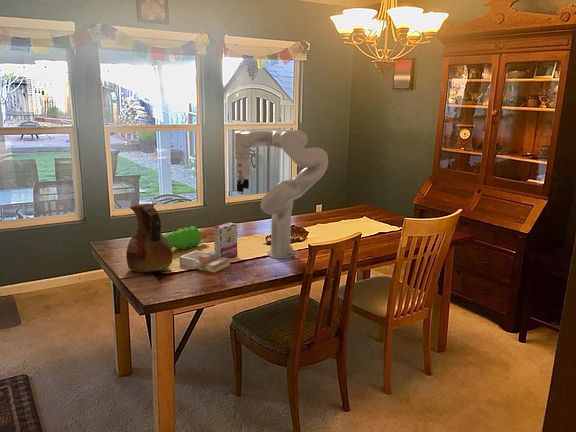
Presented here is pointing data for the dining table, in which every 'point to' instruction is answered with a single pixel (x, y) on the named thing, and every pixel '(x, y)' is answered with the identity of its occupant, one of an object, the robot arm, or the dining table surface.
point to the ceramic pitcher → (148, 242)
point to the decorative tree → (185, 237)
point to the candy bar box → (226, 240)
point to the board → (213, 264)
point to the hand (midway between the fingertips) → (242, 189)
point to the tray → (191, 258)
